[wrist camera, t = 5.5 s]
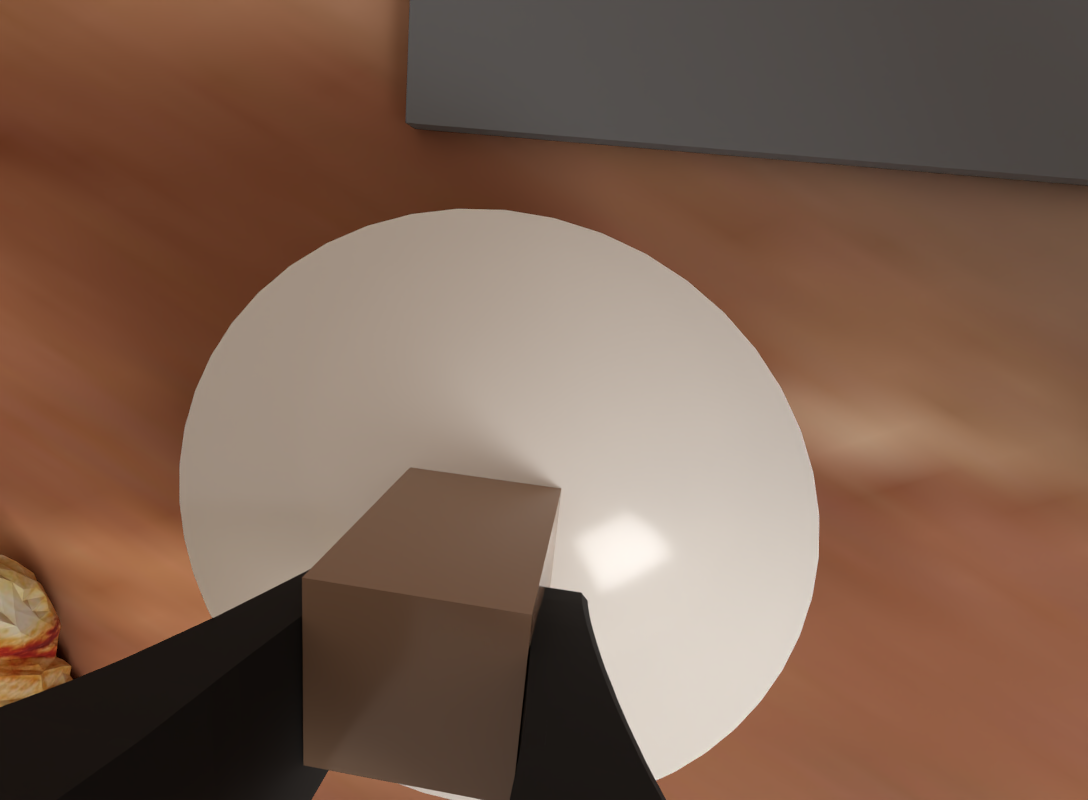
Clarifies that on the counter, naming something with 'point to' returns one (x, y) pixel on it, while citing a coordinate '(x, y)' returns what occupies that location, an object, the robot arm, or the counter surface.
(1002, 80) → the mat
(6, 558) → the croissant
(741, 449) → the lid
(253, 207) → the counter surface
